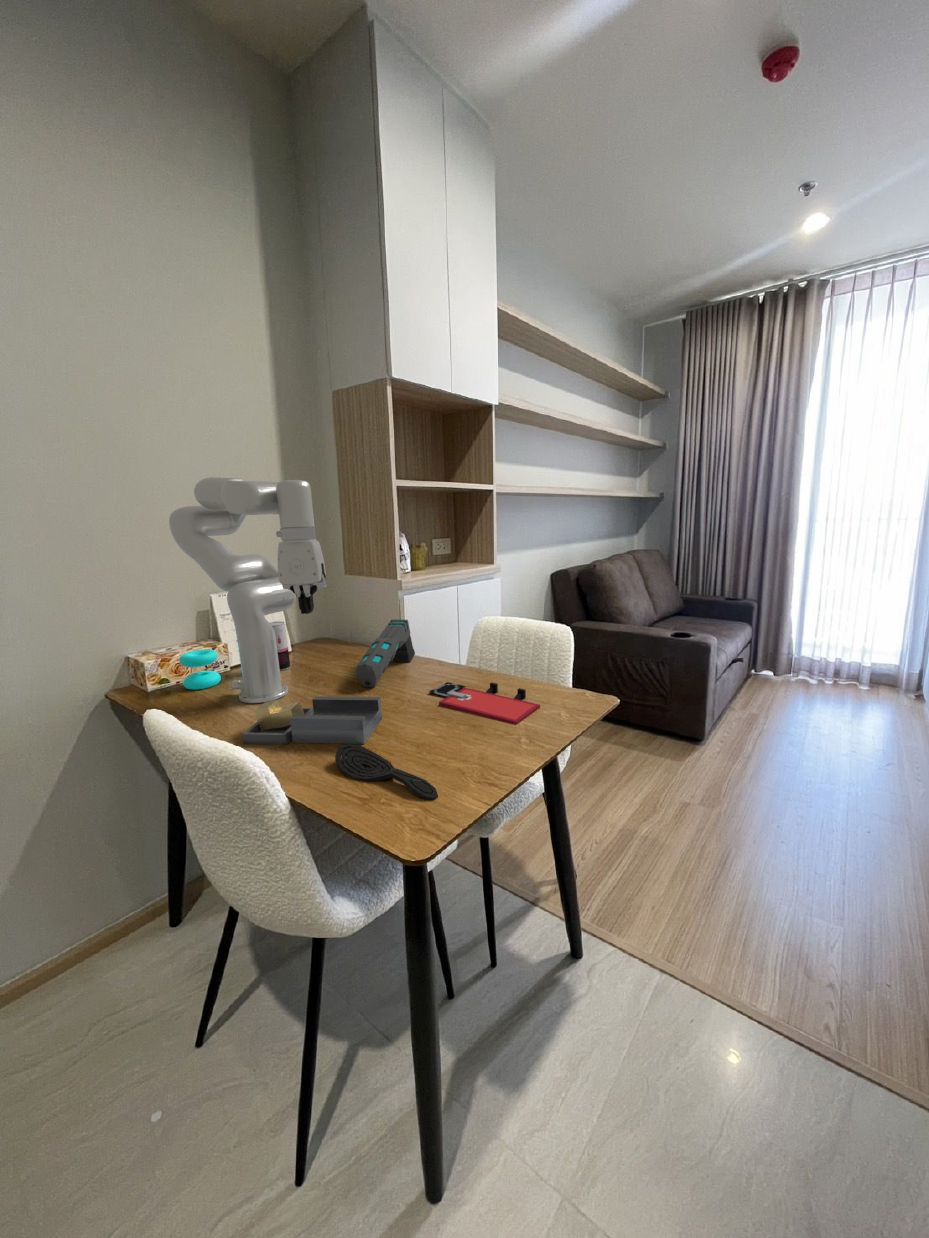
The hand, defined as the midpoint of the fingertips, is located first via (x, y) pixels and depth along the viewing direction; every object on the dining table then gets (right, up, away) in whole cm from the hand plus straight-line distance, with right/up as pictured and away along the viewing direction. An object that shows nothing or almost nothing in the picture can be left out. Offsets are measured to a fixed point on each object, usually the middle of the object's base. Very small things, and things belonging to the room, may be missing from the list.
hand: (307, 612), depth 118 cm
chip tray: (-4, -27, -5) cm, 28 cm away
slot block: (+9, -27, -7) cm, 29 cm away
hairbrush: (+23, -31, -27) cm, 48 cm away
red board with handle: (+42, -23, +7) cm, 48 cm away
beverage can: (-22, -18, +42) cm, 51 cm away
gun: (+14, -18, +34) cm, 41 cm away
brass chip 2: (-2, -25, -5) cm, 26 cm away
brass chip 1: (-5, -23, -5) cm, 24 cm away
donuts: (-40, -21, +29) cm, 54 cm away
